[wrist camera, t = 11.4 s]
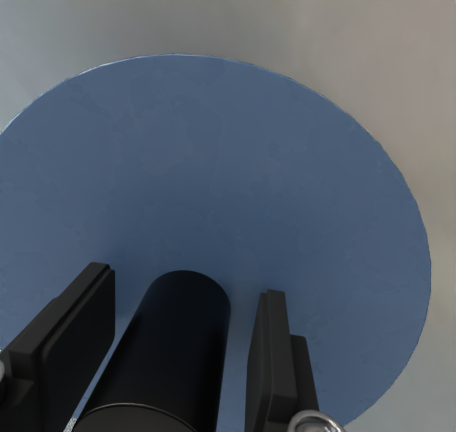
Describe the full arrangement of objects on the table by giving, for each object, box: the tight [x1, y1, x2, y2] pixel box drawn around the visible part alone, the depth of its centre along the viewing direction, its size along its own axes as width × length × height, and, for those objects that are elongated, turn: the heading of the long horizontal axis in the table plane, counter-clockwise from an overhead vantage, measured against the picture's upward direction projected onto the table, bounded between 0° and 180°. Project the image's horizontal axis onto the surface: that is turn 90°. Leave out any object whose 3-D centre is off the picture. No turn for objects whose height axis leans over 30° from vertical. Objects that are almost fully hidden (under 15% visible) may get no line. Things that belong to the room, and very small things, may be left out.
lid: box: [0, 53, 431, 432], centre depth 10 cm, size 16×16×6 cm
